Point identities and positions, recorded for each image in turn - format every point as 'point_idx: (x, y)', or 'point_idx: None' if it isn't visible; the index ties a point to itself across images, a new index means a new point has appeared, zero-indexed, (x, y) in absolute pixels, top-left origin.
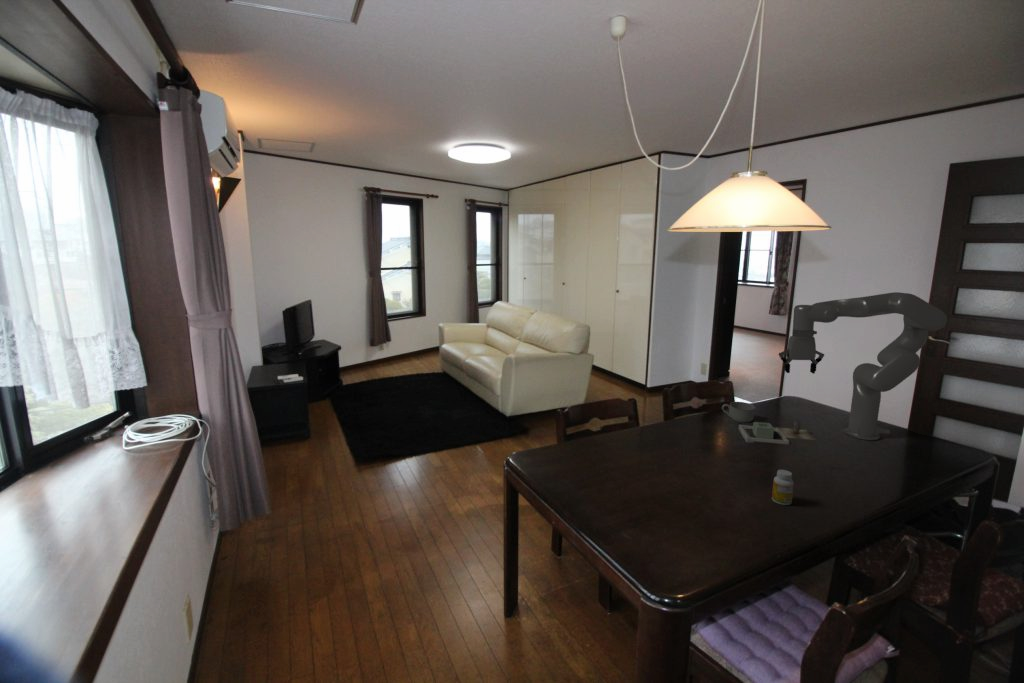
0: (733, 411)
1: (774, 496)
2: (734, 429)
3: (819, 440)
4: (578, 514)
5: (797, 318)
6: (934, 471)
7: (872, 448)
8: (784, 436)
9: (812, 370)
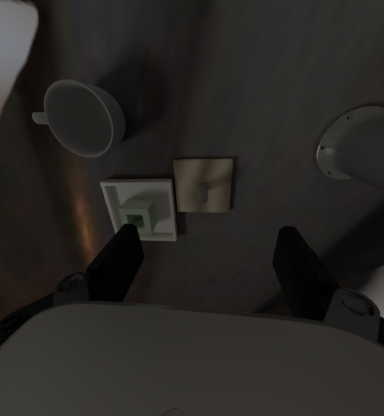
0: (71, 142)
1: None
2: (98, 181)
3: (237, 199)
4: None
5: None
6: (338, 272)
7: (313, 215)
8: (173, 223)
9: (278, 271)
